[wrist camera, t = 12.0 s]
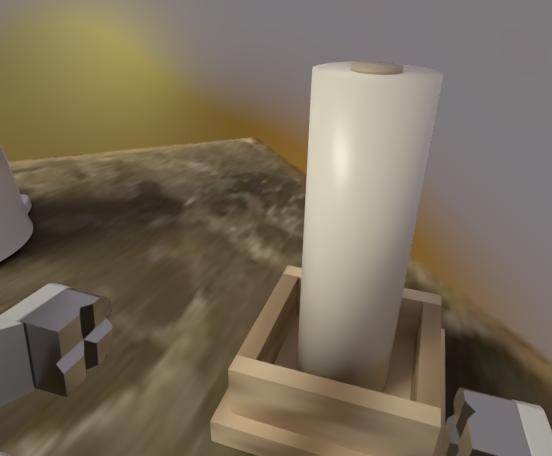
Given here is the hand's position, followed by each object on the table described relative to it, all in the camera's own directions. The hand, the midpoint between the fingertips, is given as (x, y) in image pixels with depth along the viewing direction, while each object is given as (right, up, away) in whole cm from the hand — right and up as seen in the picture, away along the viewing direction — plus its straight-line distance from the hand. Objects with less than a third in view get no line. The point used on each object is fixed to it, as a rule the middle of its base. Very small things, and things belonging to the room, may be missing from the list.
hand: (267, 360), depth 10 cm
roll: (+4, -5, +15) cm, 16 cm away
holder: (+4, -6, +16) cm, 17 cm away
